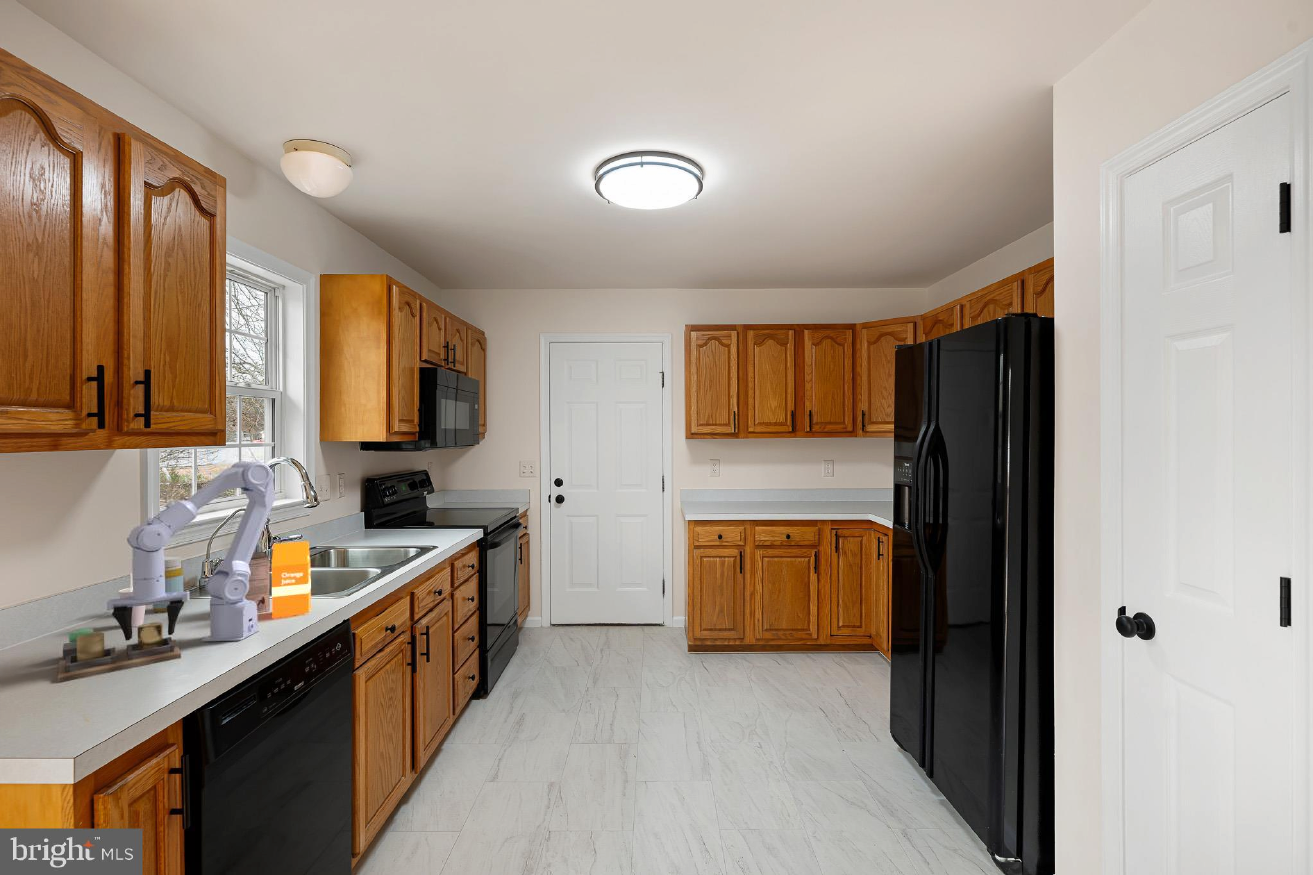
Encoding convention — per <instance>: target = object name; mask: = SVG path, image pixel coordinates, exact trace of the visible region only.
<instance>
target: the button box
mask: <svg viewBox="0 0 1313 875" xmlns="http://www.w3.org/2000/svg"><path fill="white" fill-rule="evenodd" d="M62 647H63V648H62V661H64V660H66V656H69V655H75V654H77V642H67V643H66V642H65V643H63V645H62Z"/></svg>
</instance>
